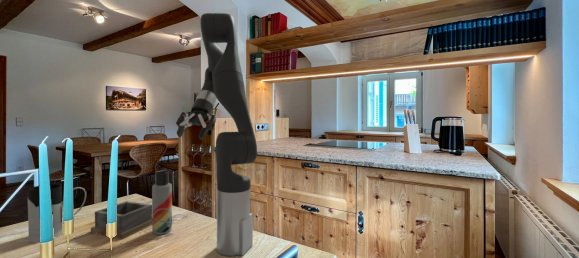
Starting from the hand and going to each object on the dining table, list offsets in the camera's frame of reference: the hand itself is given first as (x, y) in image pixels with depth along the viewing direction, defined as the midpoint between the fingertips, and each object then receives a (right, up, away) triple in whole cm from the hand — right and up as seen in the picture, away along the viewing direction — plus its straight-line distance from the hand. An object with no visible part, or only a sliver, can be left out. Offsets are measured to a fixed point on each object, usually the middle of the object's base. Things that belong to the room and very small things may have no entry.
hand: (189, 136), depth 98 cm
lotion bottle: (-4, -30, -12) cm, 33 cm away
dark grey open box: (-18, -30, -10) cm, 36 cm away
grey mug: (-35, -30, -15) cm, 49 cm away
